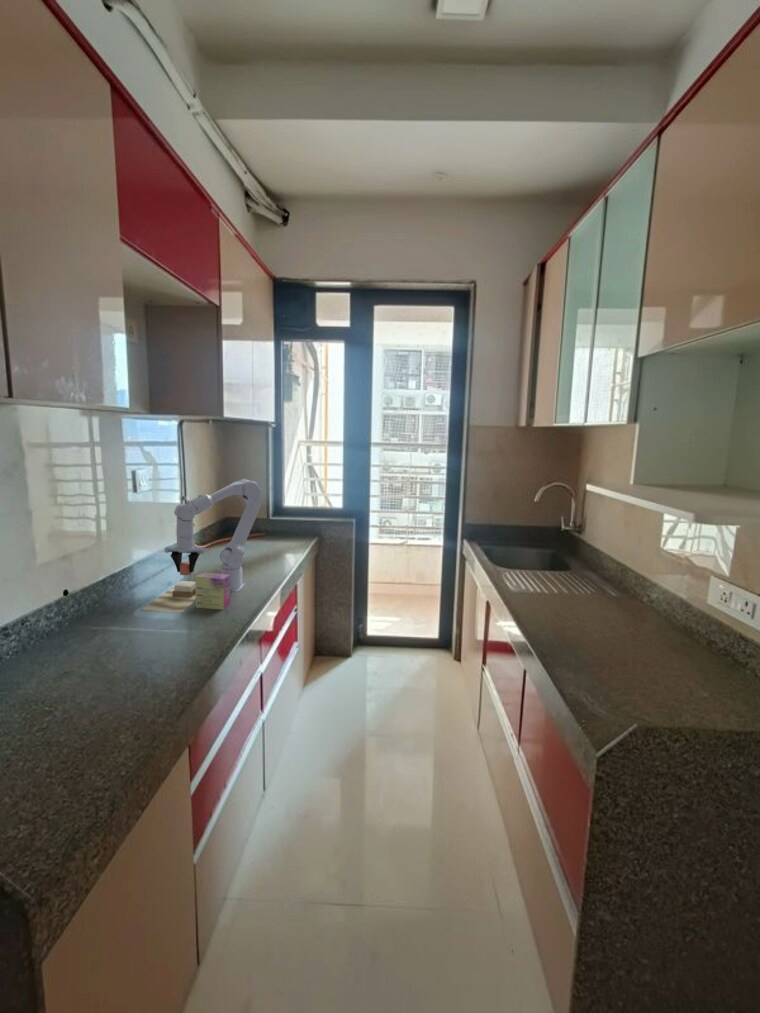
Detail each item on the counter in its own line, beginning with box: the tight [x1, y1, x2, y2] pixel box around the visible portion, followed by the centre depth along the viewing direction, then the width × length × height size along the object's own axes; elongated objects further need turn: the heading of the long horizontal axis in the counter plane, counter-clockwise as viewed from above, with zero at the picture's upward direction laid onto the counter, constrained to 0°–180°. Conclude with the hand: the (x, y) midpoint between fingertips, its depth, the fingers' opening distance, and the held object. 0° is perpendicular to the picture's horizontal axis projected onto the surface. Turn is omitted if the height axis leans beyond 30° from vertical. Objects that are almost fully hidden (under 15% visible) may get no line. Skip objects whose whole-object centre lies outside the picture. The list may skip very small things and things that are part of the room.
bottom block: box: [173, 588, 196, 597], centre depth 177 cm, size 7×7×2 cm
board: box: [140, 587, 196, 613], centre depth 172 cm, size 24×14×1 cm, turn 0°
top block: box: [173, 580, 196, 592], centre depth 177 cm, size 6×6×2 cm
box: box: [195, 571, 231, 611], centre depth 166 cm, size 10×6×12 cm, turn 84°
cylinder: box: [179, 561, 192, 576], centre depth 176 cm, size 4×4×4 cm
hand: (185, 571), depth 176 cm, fingers closed on cylinder, 4 cm apart
